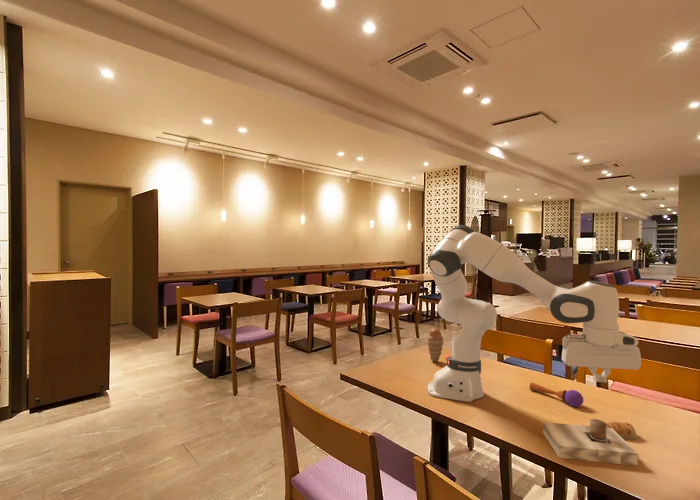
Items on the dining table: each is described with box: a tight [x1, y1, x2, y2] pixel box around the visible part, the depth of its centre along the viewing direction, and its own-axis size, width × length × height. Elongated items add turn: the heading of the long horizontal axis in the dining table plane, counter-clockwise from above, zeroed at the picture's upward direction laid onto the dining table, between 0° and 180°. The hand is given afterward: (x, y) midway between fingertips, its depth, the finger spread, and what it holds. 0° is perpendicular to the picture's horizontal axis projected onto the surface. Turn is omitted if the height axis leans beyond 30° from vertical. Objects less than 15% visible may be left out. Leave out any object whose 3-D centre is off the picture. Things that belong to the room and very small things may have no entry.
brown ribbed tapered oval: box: [427, 326, 444, 363], centre depth 188 cm, size 9×8×18 cm
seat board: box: [542, 421, 639, 467], centre depth 109 cm, size 20×14×4 cm
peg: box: [589, 418, 607, 443], centre depth 108 cm, size 4×4×8 cm
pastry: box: [605, 421, 638, 440], centre depth 117 cm, size 9×7×4 cm
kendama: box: [529, 382, 584, 408], centre depth 143 cm, size 6×6×20 cm
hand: (599, 381), depth 108 cm, fingers closed
